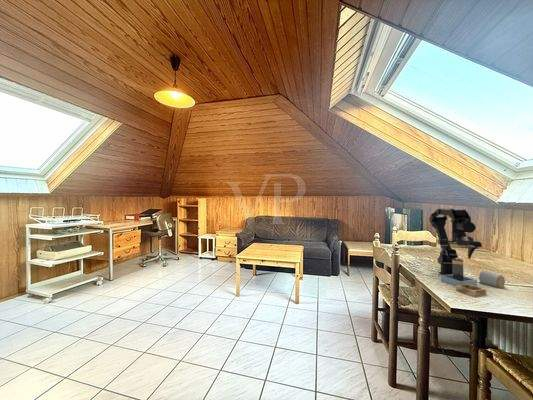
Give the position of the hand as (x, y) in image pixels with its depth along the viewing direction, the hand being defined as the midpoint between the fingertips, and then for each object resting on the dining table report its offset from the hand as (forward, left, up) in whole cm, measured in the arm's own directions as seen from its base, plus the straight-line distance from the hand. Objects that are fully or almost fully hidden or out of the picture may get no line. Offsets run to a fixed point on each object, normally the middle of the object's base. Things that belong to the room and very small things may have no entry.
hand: (458, 257), depth 130 cm
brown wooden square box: (+16, -15, -13) cm, 25 cm away
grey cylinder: (+10, +9, -13) cm, 19 cm away
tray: (+5, -8, -13) cm, 16 cm away
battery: (+5, -8, -12) cm, 15 cm away
